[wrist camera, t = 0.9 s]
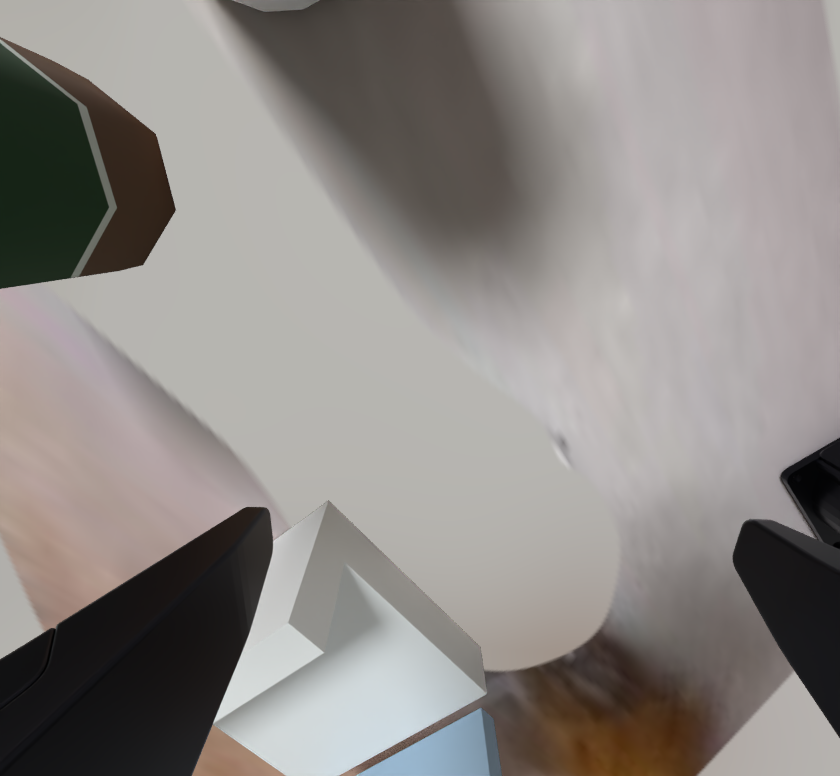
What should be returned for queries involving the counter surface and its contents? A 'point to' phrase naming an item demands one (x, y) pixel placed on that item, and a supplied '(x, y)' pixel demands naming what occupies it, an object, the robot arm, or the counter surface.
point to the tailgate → (448, 752)
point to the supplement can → (277, 4)
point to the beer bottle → (72, 176)
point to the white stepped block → (343, 655)
